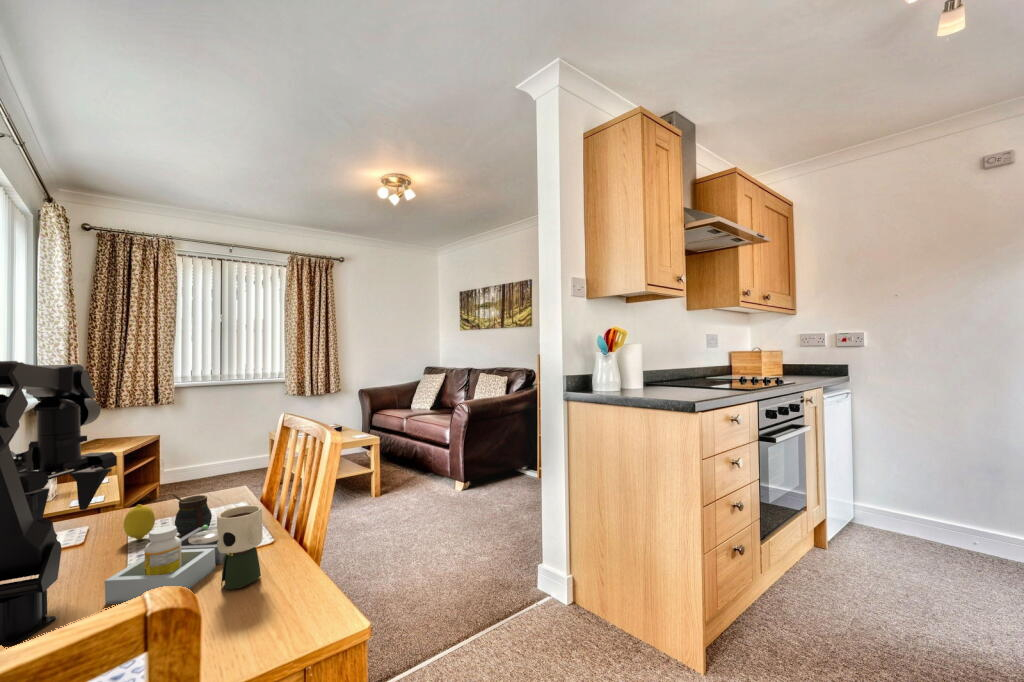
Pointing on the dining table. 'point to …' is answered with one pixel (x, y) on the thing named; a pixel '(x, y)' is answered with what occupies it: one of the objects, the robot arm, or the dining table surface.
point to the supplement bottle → (163, 551)
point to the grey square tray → (184, 545)
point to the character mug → (240, 544)
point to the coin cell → (204, 538)
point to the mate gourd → (192, 514)
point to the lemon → (139, 522)
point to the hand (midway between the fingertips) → (60, 518)
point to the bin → (159, 576)
